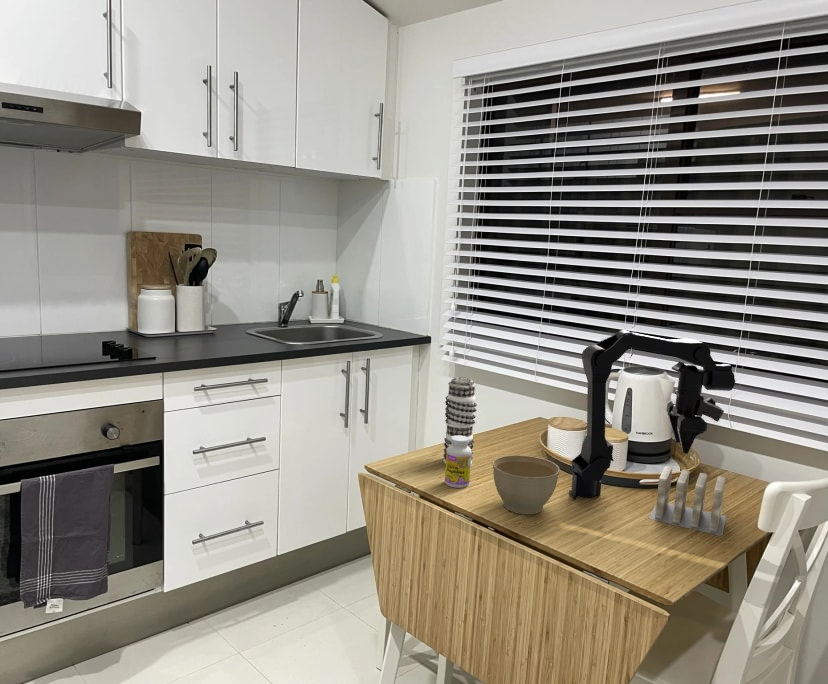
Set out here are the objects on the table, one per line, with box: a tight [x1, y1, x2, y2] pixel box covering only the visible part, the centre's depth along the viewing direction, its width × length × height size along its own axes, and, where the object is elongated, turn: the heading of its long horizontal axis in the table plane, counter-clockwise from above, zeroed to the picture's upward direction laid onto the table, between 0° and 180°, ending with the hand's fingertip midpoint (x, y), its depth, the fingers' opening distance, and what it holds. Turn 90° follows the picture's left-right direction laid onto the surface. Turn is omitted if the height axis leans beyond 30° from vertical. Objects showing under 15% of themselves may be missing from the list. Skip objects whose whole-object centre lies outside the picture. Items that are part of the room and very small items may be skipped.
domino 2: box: [673, 469, 691, 523], centre depth 158 cm, size 2×10×10 cm, turn 151°
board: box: [648, 502, 727, 537], centre depth 158 cm, size 16×13×1 cm
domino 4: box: [709, 475, 726, 532], centre depth 154 cm, size 2×10×10 cm, turn 151°
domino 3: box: [691, 472, 708, 528], centre depth 156 cm, size 2×10×10 cm, turn 151°
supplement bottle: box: [444, 435, 473, 489], centre depth 174 cm, size 7×7×13 cm
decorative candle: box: [442, 376, 478, 465], centre depth 190 cm, size 9×9×25 cm
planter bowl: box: [492, 454, 560, 515], centre depth 161 cm, size 16×16×11 cm
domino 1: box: [655, 465, 673, 519], centre depth 160 cm, size 2×10×10 cm, turn 151°
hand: (681, 447), depth 170 cm, fingers open, 9 cm apart
